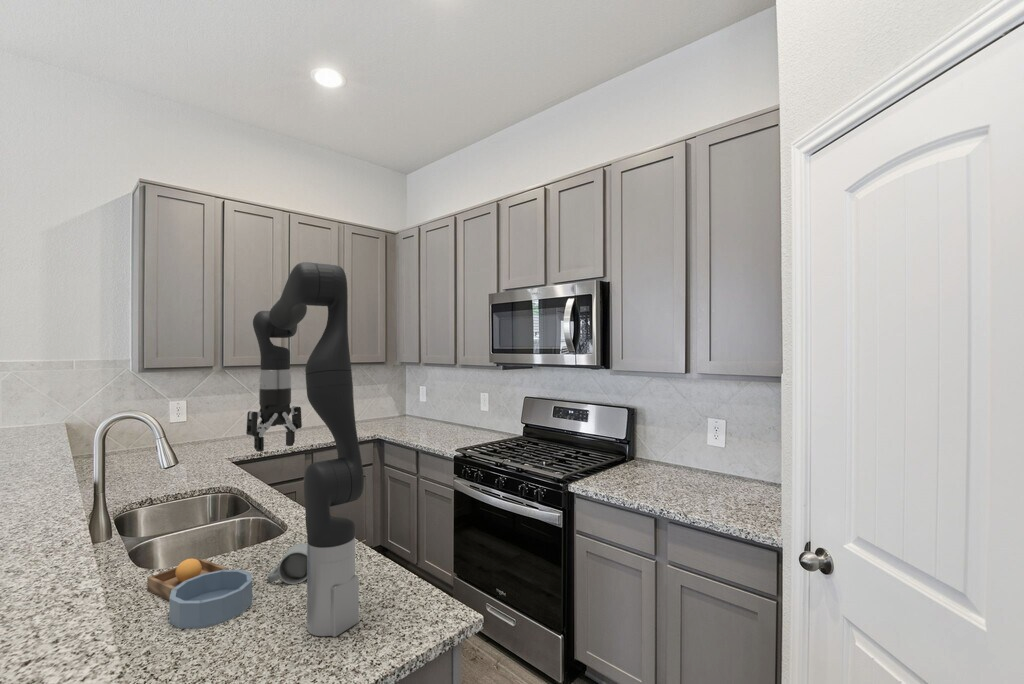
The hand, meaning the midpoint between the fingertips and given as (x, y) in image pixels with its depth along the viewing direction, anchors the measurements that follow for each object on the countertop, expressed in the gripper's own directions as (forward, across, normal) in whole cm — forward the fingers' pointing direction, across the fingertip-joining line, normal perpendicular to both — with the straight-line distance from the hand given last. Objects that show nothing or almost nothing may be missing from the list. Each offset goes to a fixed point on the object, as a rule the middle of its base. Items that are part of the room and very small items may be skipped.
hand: (275, 448), depth 128 cm
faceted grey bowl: (+30, -20, -8) cm, 37 cm away
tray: (+30, -18, +7) cm, 36 cm away
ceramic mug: (+30, -3, -11) cm, 33 cm away
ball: (+26, -18, +7) cm, 33 cm away
